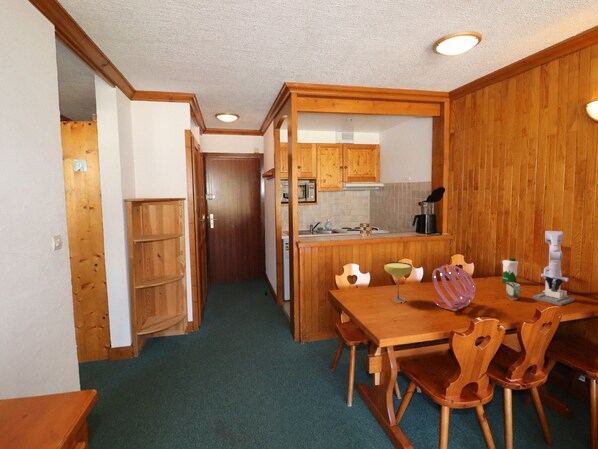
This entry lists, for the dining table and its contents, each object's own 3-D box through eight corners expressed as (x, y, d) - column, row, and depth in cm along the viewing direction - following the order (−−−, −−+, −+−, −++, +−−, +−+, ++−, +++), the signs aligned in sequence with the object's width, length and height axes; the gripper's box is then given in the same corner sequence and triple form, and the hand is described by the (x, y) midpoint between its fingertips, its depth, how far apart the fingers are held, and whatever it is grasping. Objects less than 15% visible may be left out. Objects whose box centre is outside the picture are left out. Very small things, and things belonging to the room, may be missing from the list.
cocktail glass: (417, 301, 209) (418, 265, 207) (399, 307, 200) (399, 269, 198) (396, 294, 225) (396, 260, 222) (378, 299, 215) (378, 264, 213)
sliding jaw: (548, 294, 212) (548, 282, 211) (562, 297, 205) (563, 284, 204) (545, 295, 210) (545, 282, 209) (559, 298, 203) (560, 285, 202)
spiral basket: (411, 274, 205) (448, 255, 188) (433, 277, 222) (468, 260, 205) (429, 316, 191) (471, 300, 174) (451, 315, 208) (491, 300, 191)
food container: (524, 301, 204) (524, 286, 204) (513, 301, 206) (514, 286, 205) (515, 295, 217) (515, 281, 216) (505, 295, 218) (505, 281, 217)
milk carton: (518, 284, 243) (520, 259, 241) (509, 285, 241) (510, 259, 239) (508, 281, 251) (509, 257, 249) (499, 282, 249) (500, 257, 247)
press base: (546, 294, 218) (546, 286, 218) (574, 300, 204) (575, 292, 204) (532, 298, 210) (532, 290, 210) (560, 305, 196) (561, 297, 196)
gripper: (539, 268, 210) (538, 287, 211) (565, 272, 197) (563, 293, 198) (544, 266, 213) (543, 286, 214) (570, 271, 200) (569, 291, 202)
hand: (553, 289), depth 207 cm, fingers closed on sliding jaw, 3 cm apart
